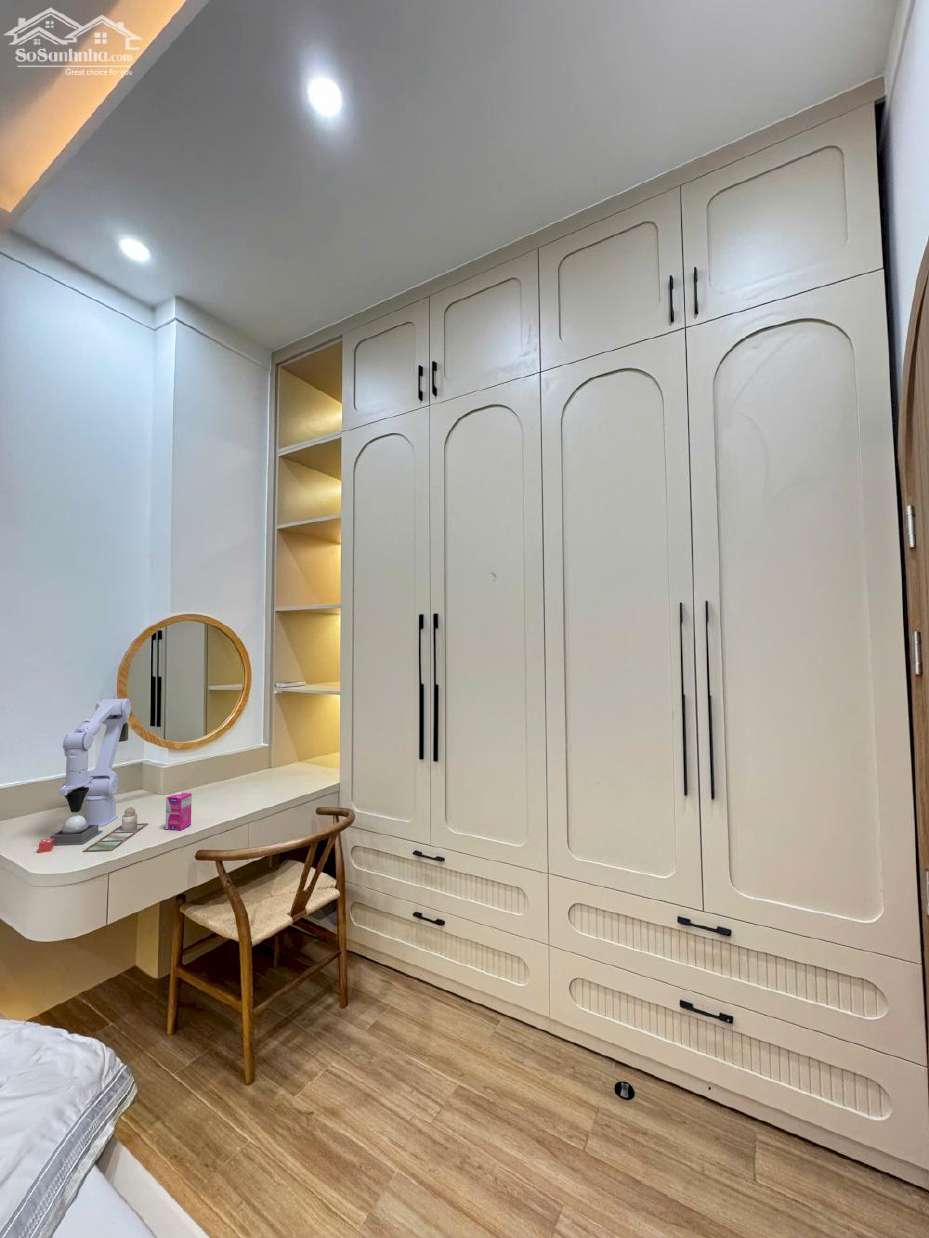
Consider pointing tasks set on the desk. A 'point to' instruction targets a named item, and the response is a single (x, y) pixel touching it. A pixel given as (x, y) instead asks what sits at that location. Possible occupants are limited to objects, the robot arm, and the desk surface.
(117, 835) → the compartment tray
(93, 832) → the popper base
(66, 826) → the dome
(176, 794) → the supplement box
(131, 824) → the pawn
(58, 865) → the desk surface
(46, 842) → the red die
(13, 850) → the desk surface
